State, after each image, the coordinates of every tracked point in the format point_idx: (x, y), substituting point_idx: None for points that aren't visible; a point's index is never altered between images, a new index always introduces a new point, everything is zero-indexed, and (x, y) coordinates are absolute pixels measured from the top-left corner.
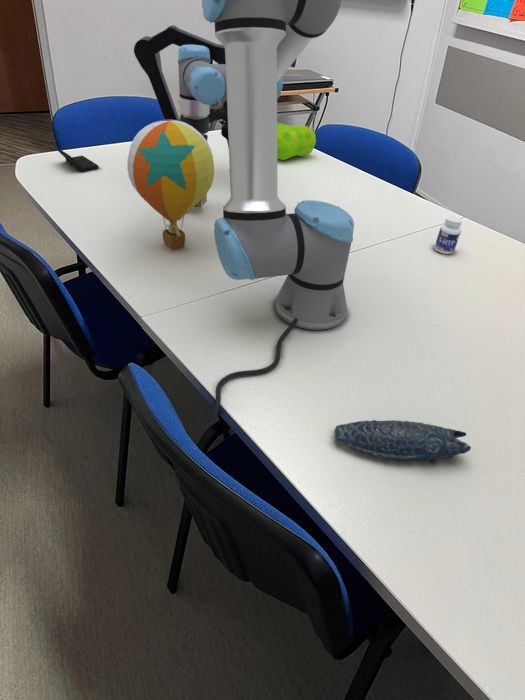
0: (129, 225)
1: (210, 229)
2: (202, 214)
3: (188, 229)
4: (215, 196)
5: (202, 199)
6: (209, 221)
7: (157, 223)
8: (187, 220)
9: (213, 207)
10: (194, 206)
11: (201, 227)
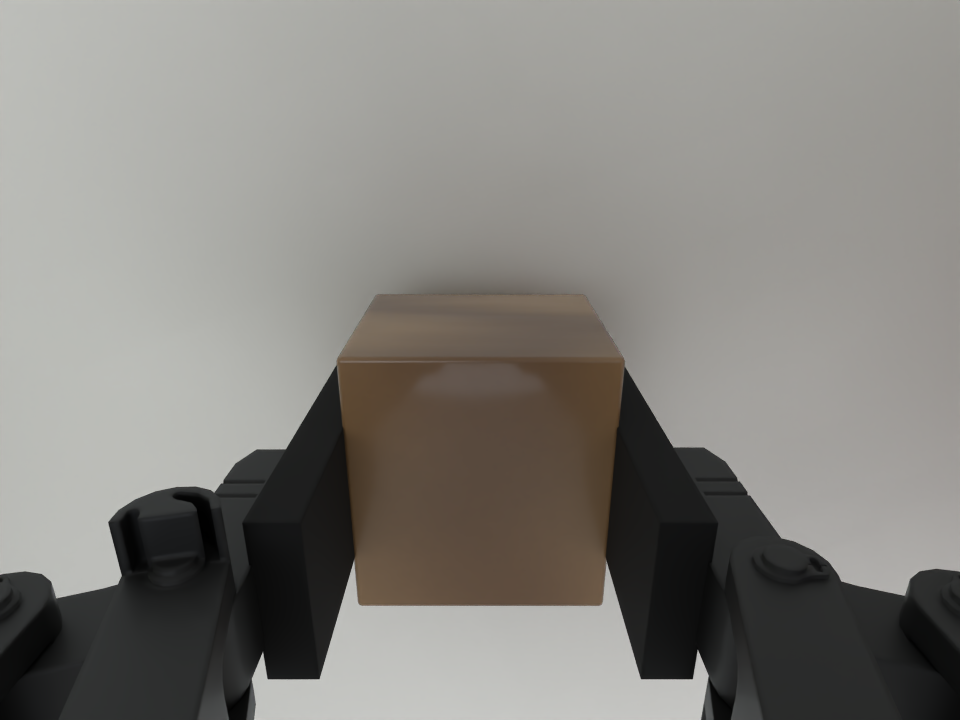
0: None
1: (907, 36)
2: (546, 265)
3: (947, 269)
4: (24, 298)
5: (544, 320)
6: (696, 126)
7: (870, 553)
8: (740, 352)
9: (315, 216)
10: None
11: (874, 158)
